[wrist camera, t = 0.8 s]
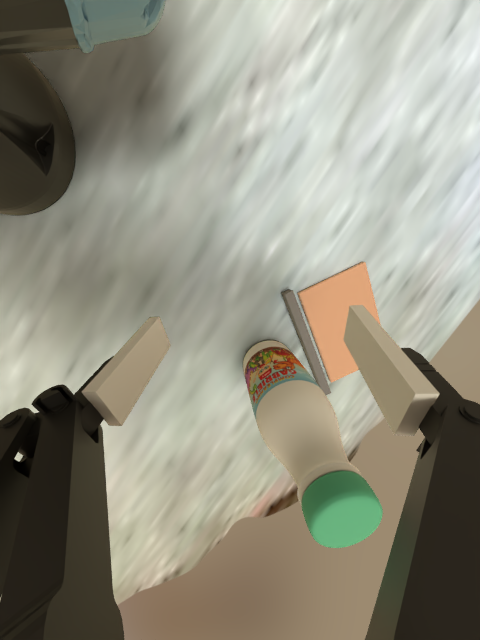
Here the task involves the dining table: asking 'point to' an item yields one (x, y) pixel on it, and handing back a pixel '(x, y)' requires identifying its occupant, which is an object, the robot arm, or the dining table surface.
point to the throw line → (305, 339)
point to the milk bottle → (309, 446)
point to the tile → (337, 315)
